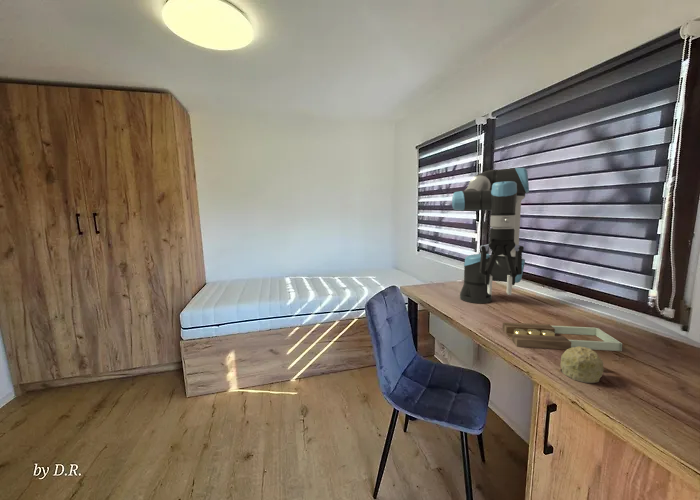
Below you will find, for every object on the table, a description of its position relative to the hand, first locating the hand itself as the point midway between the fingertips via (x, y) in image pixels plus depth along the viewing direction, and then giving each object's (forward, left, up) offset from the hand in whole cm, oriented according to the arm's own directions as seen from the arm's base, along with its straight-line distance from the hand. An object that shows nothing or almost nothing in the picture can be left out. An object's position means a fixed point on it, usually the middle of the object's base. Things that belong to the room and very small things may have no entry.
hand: (499, 293), depth 104 cm
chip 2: (0, +12, -16) cm, 20 cm away
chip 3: (0, +16, -16) cm, 23 cm away
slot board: (0, +12, -17) cm, 21 cm away
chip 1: (0, +8, -16) cm, 18 cm away
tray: (0, +28, -17) cm, 32 cm away
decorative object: (+21, +16, -17) cm, 31 cm away
